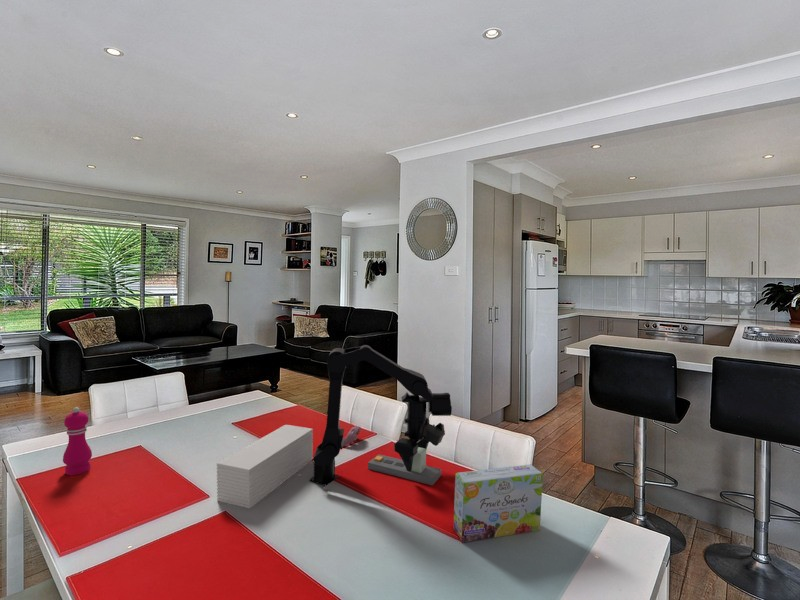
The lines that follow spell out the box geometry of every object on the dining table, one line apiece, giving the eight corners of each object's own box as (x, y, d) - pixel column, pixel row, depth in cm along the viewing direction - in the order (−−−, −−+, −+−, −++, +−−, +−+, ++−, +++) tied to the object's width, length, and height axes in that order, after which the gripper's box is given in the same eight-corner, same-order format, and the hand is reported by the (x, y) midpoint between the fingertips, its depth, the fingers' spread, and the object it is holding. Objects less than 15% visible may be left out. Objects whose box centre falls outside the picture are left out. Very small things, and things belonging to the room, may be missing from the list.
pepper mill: (58, 472, 131) (56, 408, 130) (84, 463, 138) (82, 402, 136) (70, 478, 128) (68, 412, 127) (97, 468, 134) (95, 406, 133)
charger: (420, 479, 129) (420, 453, 128) (405, 475, 131) (405, 450, 130) (425, 474, 132) (426, 448, 132) (411, 470, 134) (411, 445, 134)
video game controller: (348, 452, 154) (357, 435, 153) (338, 445, 154) (346, 429, 153) (357, 441, 163) (365, 426, 162) (346, 435, 164) (354, 419, 163)
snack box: (462, 545, 100) (464, 482, 99) (452, 531, 105) (454, 471, 104) (541, 531, 106) (543, 471, 105) (528, 518, 111) (530, 462, 110)
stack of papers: (285, 455, 147) (285, 424, 146) (312, 460, 143) (312, 428, 143) (217, 501, 117) (216, 463, 116) (249, 509, 113) (249, 469, 113)
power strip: (432, 488, 125) (432, 476, 125) (367, 471, 135) (367, 460, 135) (440, 478, 132) (441, 467, 131) (378, 463, 141) (378, 452, 141)
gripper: (429, 430, 118) (428, 484, 119) (452, 411, 135) (450, 459, 136) (393, 423, 123) (392, 475, 124) (419, 405, 140) (419, 452, 141)
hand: (415, 465), depth 131 cm, fingers open, 9 cm apart
